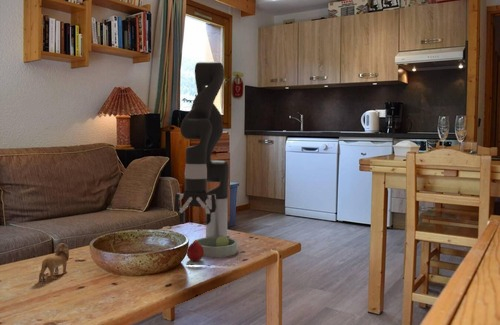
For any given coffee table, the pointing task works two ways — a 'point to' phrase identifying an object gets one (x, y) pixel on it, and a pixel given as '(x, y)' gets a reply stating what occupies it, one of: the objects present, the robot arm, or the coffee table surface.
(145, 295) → the coffee table surface
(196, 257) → the onion
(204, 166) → the robot arm
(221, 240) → the lime
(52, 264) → the lion figurine
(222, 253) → the bowl
